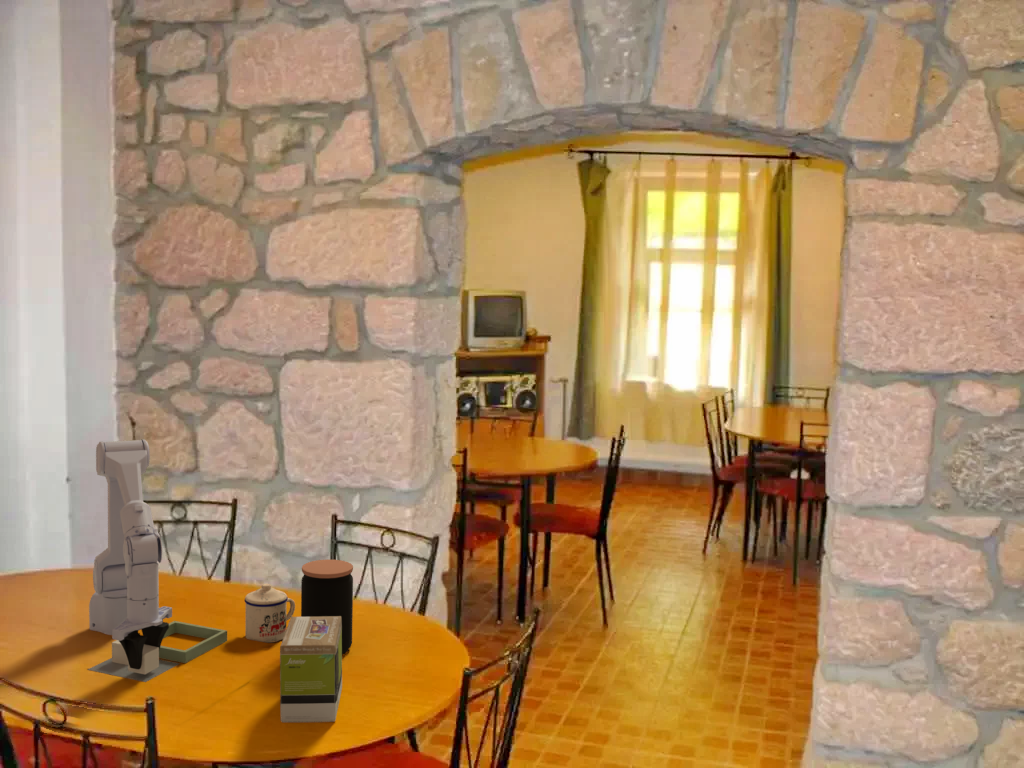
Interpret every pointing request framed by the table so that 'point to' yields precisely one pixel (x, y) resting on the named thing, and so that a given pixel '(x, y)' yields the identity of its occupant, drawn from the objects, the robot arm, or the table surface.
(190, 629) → the olive dish
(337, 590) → the coffee jar
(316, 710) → the tea box
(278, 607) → the teacup with lid
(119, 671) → the slate board
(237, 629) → the table surface
